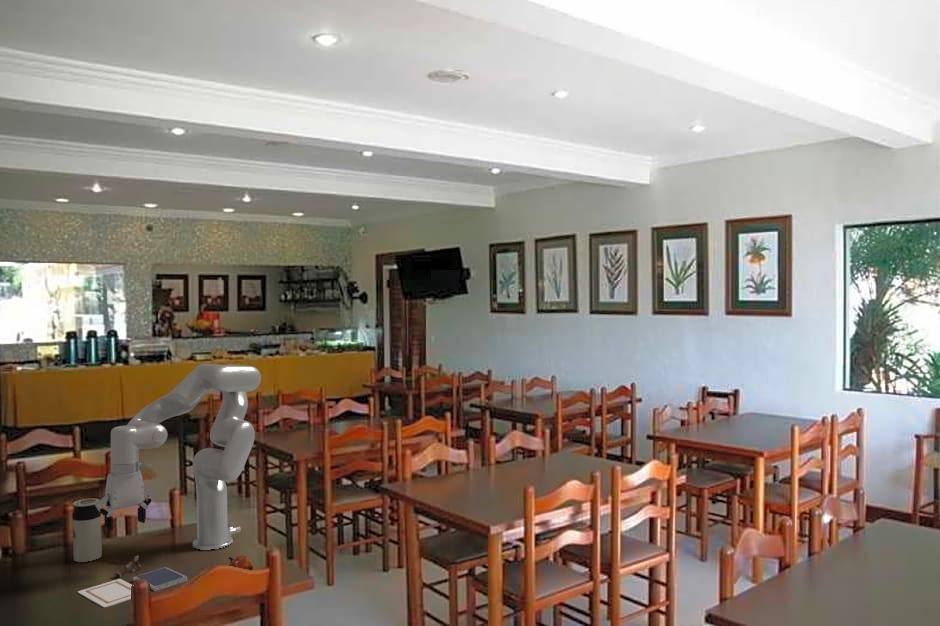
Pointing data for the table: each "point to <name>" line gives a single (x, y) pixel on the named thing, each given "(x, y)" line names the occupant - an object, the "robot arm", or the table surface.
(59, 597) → the table surface
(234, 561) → the pomegranate
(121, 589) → the marked card
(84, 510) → the travel mug
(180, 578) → the ink pad
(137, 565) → the wooden post with brackets
